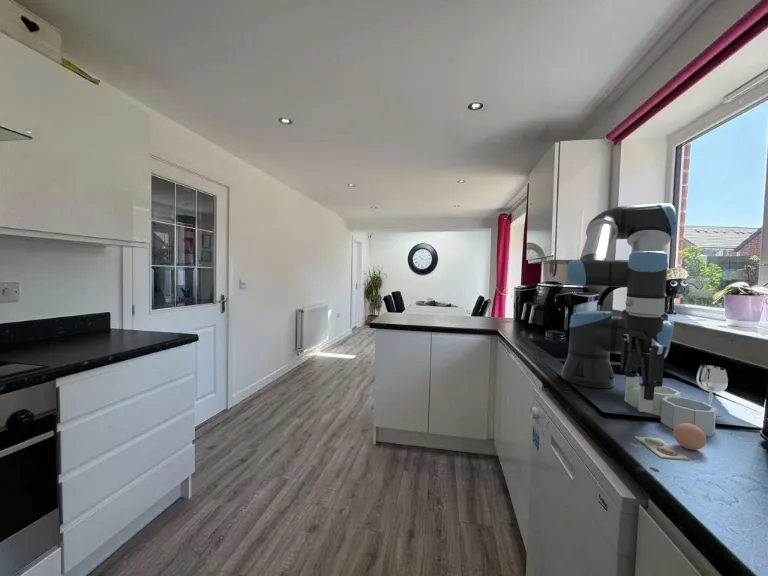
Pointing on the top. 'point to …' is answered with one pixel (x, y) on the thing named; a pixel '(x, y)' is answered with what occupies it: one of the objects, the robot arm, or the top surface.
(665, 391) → the white octagonal bowl
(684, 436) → the terracotta ball
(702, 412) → the grey octagonal bowl
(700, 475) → the top surface
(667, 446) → the card
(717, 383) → the wineglass
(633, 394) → the sage ball
